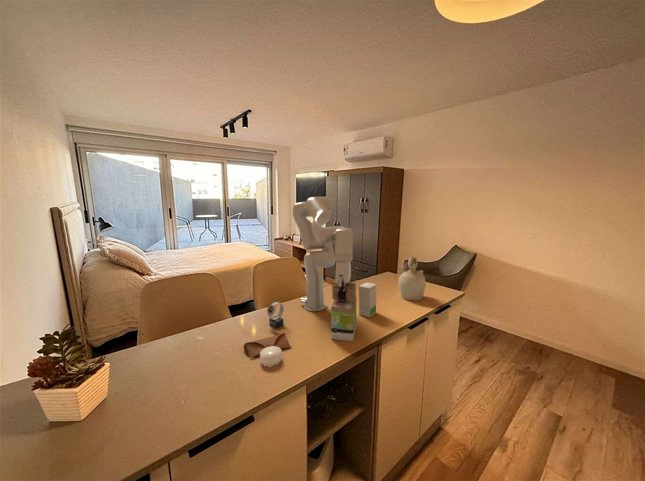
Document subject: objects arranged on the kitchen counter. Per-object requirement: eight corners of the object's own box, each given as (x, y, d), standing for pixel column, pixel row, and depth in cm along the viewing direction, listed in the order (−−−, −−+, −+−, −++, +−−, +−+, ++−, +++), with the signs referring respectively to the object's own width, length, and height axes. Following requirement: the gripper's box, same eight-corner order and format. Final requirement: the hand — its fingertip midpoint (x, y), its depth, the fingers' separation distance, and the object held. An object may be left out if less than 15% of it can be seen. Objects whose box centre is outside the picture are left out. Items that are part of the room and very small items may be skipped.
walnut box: (332, 299, 115) (332, 285, 114) (336, 294, 120) (336, 281, 119) (352, 301, 111) (352, 288, 110) (355, 296, 117) (356, 283, 116)
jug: (392, 295, 161) (394, 255, 157) (412, 291, 168) (413, 253, 164) (410, 304, 148) (412, 261, 144) (430, 299, 154) (432, 257, 150)
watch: (266, 325, 125) (264, 304, 123) (279, 320, 131) (278, 299, 129) (272, 329, 121) (271, 307, 120) (286, 323, 127) (285, 302, 125)
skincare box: (369, 318, 131) (369, 288, 129) (357, 314, 135) (357, 285, 133) (376, 312, 138) (377, 283, 136) (365, 309, 142) (365, 281, 139)
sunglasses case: (248, 361, 98) (245, 342, 100) (245, 361, 104) (242, 343, 106) (293, 347, 106) (289, 330, 108) (288, 348, 112) (284, 332, 114)
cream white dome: (256, 365, 96) (255, 356, 95) (267, 352, 103) (267, 344, 103) (275, 369, 93) (275, 360, 93) (285, 356, 101) (285, 348, 100)
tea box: (354, 341, 110) (354, 308, 108) (330, 339, 112) (330, 307, 110) (356, 324, 125) (356, 295, 122) (335, 323, 127) (335, 294, 124)
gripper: (340, 252, 122) (340, 289, 125) (329, 261, 106) (330, 302, 109) (356, 253, 120) (356, 290, 123) (347, 262, 104) (347, 305, 106)
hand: (344, 296), depth 116 cm, fingers closed on walnut box, 6 cm apart
